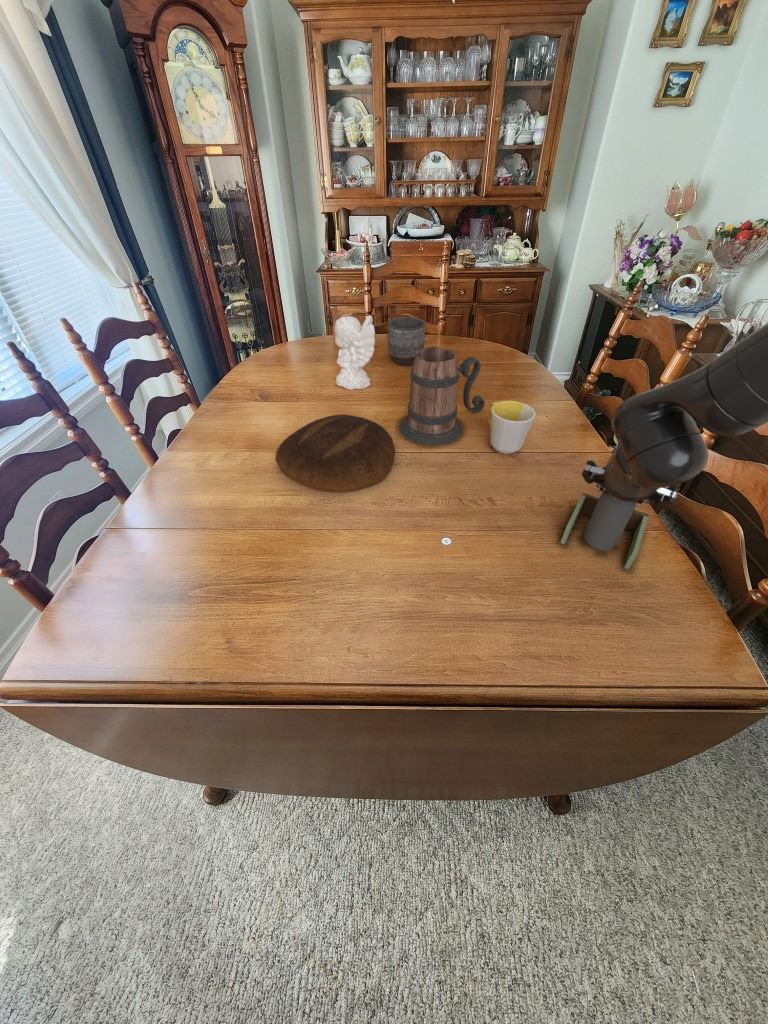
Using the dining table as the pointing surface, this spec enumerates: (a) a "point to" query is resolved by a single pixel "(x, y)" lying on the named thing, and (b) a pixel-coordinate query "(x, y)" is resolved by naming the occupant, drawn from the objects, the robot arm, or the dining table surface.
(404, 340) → the planter
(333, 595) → the dining table surface
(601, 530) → the bottle
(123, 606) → the dining table surface
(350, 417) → the bread
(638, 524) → the green u-shaped frame
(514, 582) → the dining table surface
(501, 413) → the mug
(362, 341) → the cherub figurine
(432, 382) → the tankard
